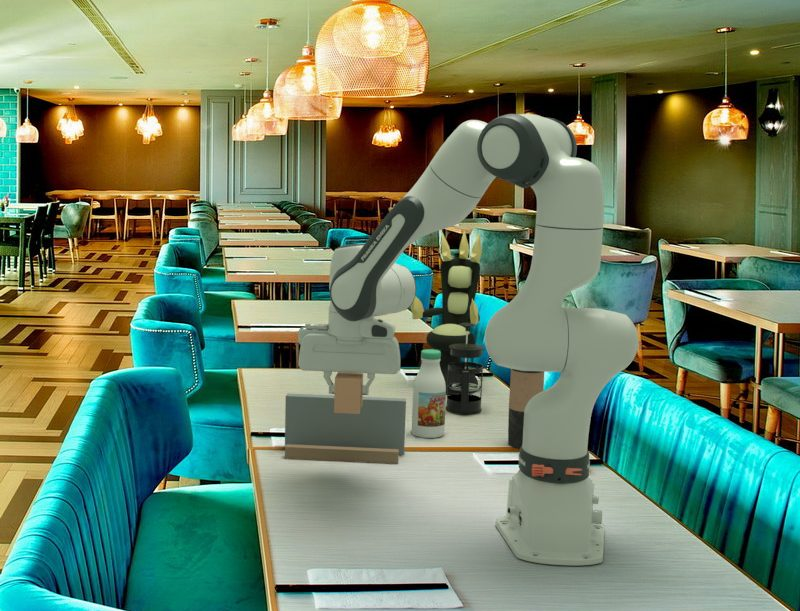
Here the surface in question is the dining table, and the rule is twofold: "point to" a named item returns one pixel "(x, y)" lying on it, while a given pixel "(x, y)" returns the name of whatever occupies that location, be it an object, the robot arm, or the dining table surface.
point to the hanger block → (348, 392)
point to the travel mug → (521, 401)
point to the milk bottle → (429, 397)
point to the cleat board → (344, 429)
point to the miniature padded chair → (454, 306)
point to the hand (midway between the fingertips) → (348, 393)
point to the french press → (465, 378)
